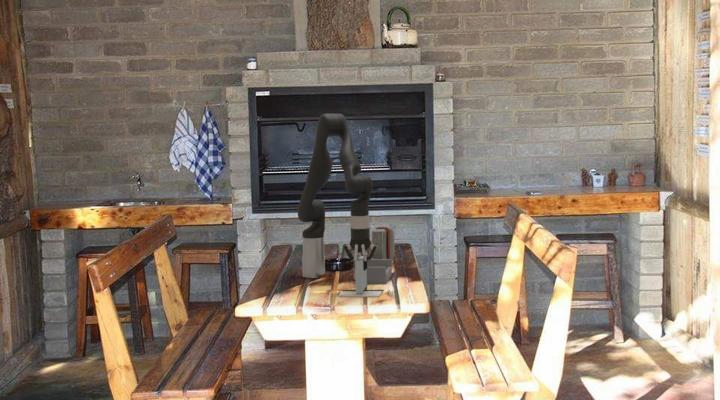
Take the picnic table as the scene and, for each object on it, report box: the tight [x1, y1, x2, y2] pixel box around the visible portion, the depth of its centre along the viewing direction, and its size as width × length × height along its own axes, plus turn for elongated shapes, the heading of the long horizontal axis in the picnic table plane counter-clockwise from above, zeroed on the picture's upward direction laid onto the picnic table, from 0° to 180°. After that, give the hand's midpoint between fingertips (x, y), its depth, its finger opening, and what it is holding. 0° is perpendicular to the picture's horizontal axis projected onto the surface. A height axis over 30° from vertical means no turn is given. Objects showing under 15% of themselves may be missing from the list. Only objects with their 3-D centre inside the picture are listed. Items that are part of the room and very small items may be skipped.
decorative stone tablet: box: [371, 226, 396, 266], centre depth 402 cm, size 19×6×30 cm
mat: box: [338, 289, 385, 298], centre depth 354 cm, size 16×14×1 cm
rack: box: [367, 258, 393, 285], centre depth 374 cm, size 12×18×8 cm, turn 171°
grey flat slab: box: [354, 255, 368, 293], centre depth 353 cm, size 2×13×12 cm, turn 171°
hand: (361, 270), depth 353 cm, fingers closed on grey flat slab, 2 cm apart
